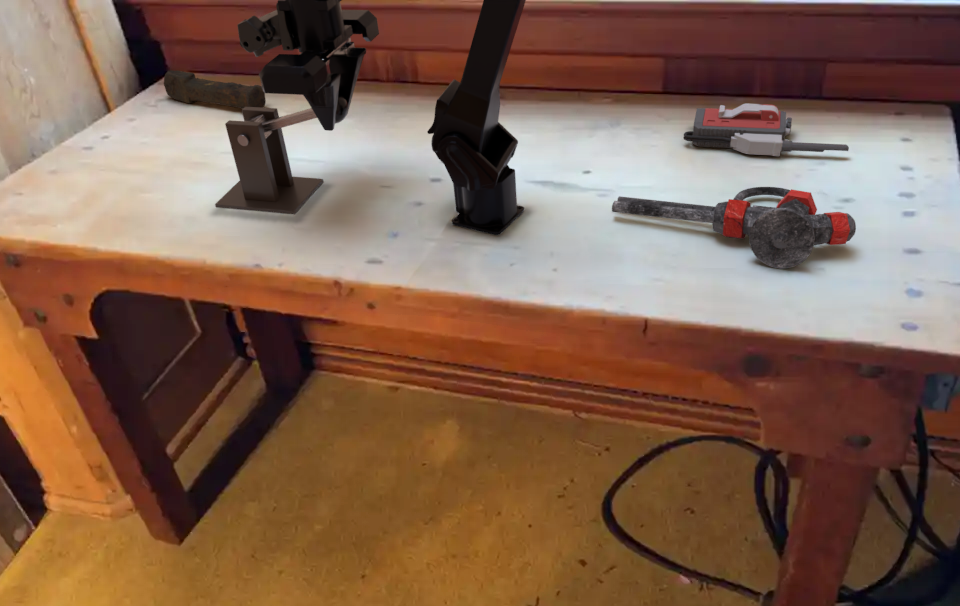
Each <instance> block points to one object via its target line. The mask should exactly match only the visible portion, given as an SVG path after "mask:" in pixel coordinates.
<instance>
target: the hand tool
mask: <svg viewBox="0 0 960 606" xmlns="http://www.w3.org/2000/svg"><path fill="white" fill-rule="evenodd" d="M163 87H164V90H165V92H166V95H167V96H168V97H169V98H172V99H174V100H176V101H179V102H182V103H186V104H194V103H196V102H202V103H203V102H204V103H208V104H216V105H220V106H221V105H222V106H226V107H232V108H237V109H241V110H242V109H243V108H244V107H260V108H265V107H266V102H267V101H266V93H264V92H263V89H262V85H259V84H254V85H246V84H241V83H236V82H224V81H216V80H210V79H206V78H205V79H204V78H199V77H196V74H195V73H194V72H191V71H190V72H189V71H188V72H187V71H183V70H182V71H181V70H171V69H170V70H169V69H168V70H167V72H165V74H164V77H163Z"/></svg>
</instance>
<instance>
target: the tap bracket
mask: <svg viewBox="0 0 960 606" xmlns="http://www.w3.org/2000/svg"><path fill="white" fill-rule="evenodd" d="M241 114H242V117H243V120H233V119H232V120H230V119H229V120H227V121H226V122H225V123H224V126H225V129H226V133H227V136H228V140H229V144H230V147H231V151H232V156H233V159H234V163H235V168H236V171H237V174H238V178H239V180H238V182H236V183H235V184H234V185H233V186H232V187H231V189H229V190H228V191H227V192H226V193H225V194H224V195H223V196H222V197H220V199H219V200H218V201H216V203H215V204H214V206H215V208H218V209H219V208H220V209H231V210H239V211H240V210H242V211H251V212H262V213H272V214H273V213H274V214H283V215H284V214H285V215H295V214H296V213H297V212H298V211H299V210H300V209H301V208H302V207H303V206H304V205H305V204H306V202H307V201H308V200H309V199H310V198H311V197H312V196H313V194H314V193H315V192H316V191H317V190H318V189H319V188H320V187H321V186H322V185H323V183H324V179H323V178H316V177H304V176H293V174H292V170H291V169H292V168H291V164H290V160H289V155H288V152H287V146H286V142H285V138H284V133H283V128H279V129H276V130H272V133H271V134H270V135H269V136H268V137H267V138H266V139H265V135H264V130H263V126H262V122H248V121H245V120H247V119H250V118H253V117H257V116H260V115H264V117H265V119H266V121H269V120H272V119H275V118H279V117H280V114H279V110H278V108H276V107H263V108H260V107H244V108H243V109H241Z"/></svg>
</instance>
